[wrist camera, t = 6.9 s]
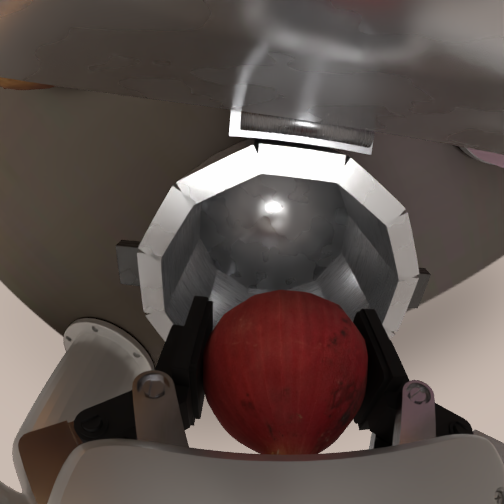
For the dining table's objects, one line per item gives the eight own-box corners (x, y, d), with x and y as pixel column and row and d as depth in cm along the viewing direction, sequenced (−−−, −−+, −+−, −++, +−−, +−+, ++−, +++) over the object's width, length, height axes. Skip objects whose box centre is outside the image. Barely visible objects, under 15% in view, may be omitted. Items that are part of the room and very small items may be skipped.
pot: (356, 300, 27) (392, 387, 17) (168, 284, 27) (126, 370, 17) (394, 134, 20) (481, 152, 10) (168, 107, 20) (95, 101, 10)
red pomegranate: (335, 238, 12) (417, 401, 4) (348, 341, 14) (387, 484, 7) (199, 269, 12) (138, 438, 5) (237, 362, 15) (223, 506, 7)
